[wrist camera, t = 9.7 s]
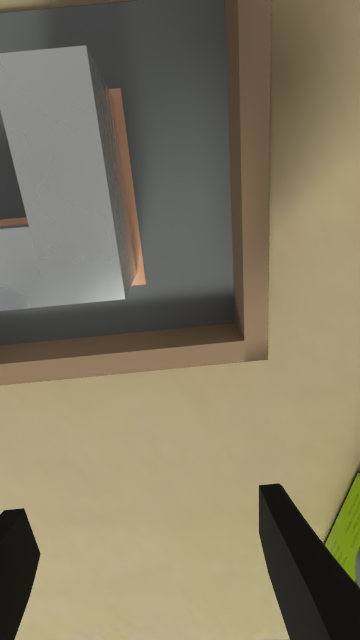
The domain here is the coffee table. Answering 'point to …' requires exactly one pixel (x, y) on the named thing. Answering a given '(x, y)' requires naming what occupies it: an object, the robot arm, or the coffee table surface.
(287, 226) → the coffee table surface
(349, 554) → the box
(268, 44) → the arena
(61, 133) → the l block
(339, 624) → the robot arm
